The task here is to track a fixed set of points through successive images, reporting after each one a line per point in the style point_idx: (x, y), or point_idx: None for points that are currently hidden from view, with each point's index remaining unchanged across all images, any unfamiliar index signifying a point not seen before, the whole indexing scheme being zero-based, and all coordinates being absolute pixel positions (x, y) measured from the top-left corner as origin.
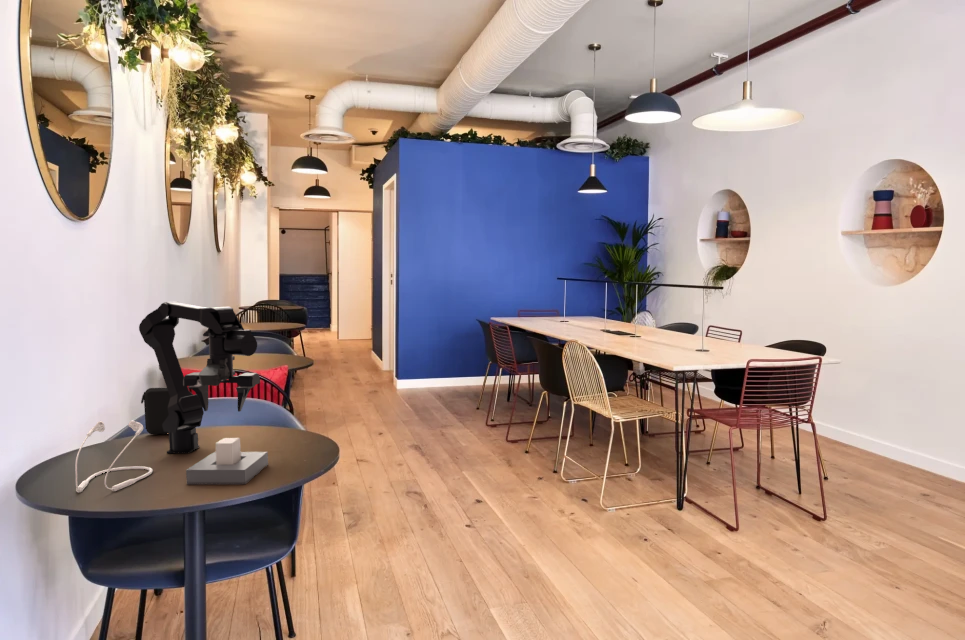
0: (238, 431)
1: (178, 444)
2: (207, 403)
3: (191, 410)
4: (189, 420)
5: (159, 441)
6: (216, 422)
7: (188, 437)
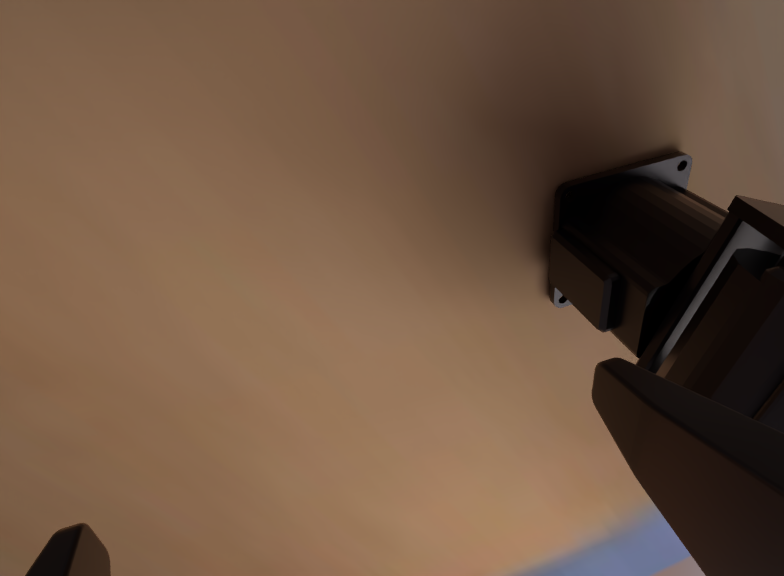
0: (488, 530)
1: (655, 197)
2: (655, 480)
3: (770, 400)
4: (710, 316)
5: None
6: (626, 557)
7: (628, 257)
